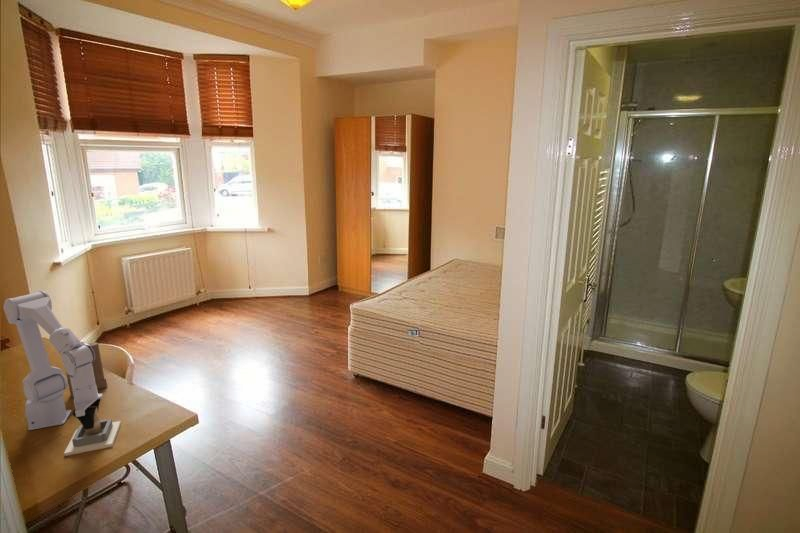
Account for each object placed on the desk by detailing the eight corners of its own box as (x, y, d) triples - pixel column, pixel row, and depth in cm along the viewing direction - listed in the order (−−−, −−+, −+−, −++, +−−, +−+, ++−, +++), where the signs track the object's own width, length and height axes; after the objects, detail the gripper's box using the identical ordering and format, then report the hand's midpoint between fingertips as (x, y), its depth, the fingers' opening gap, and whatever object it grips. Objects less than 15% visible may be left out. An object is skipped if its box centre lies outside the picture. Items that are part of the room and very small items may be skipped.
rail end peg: (84, 437, 127) (79, 414, 125) (87, 429, 131) (83, 407, 129) (99, 434, 129) (95, 411, 127) (102, 426, 133) (98, 404, 130)
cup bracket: (64, 456, 123) (62, 445, 122) (77, 431, 134) (75, 422, 133) (112, 446, 127) (110, 436, 127) (121, 423, 138) (119, 414, 137)
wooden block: (70, 394, 154) (61, 350, 149) (104, 383, 162) (97, 340, 157) (72, 398, 152) (63, 353, 147) (107, 387, 159) (99, 343, 155)
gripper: (93, 394, 121) (100, 434, 124) (105, 371, 134) (112, 408, 137) (63, 399, 118) (72, 440, 122) (78, 374, 131) (86, 412, 134)
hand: (91, 423), depth 129 cm, fingers closed on rail end peg, 4 cm apart
